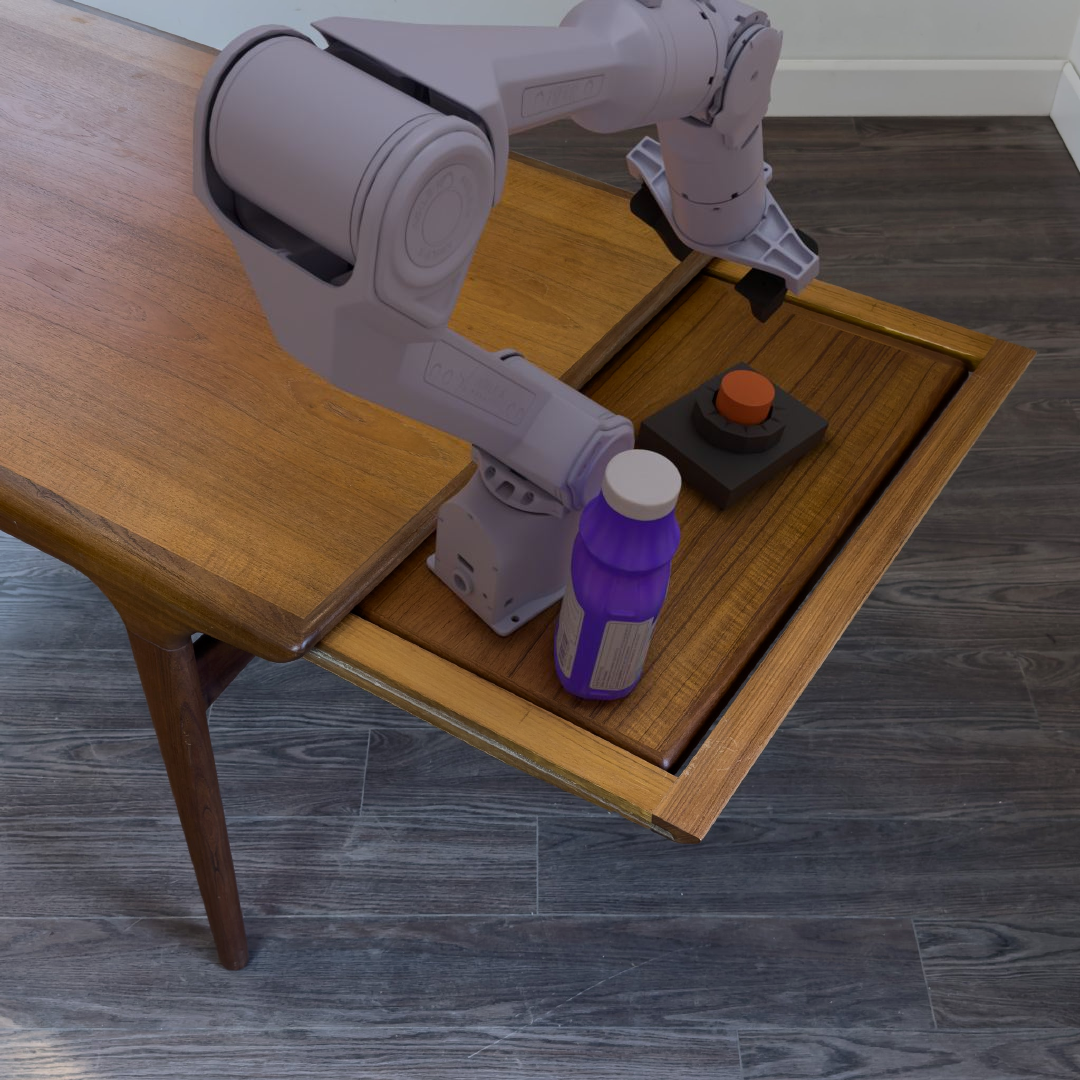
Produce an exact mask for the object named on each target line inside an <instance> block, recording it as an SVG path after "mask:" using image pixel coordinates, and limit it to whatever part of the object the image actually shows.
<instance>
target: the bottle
mask: <svg viewBox="0 0 1080 1080" xmlns="http://www.w3.org/2000/svg"><path fill="white" fill-rule="evenodd" d="M681 487H682V477H680V474H679V472H678V470H677V468H676V467H675V466H674V464H673V463H672V462H671V461H669V460H668V459H667V458H665V457H664V456H662V455H660V454H658V453H655V452H652V451H648V450H646V449H633V450H628V451H624V452H621V453H619V454H617V455H616V456H614V457H613V458H612V459H611V460H610V462H609V463H608V465H607V467H606V470H605V475H604V478H603V481H602V487H601V491H600V493H599V495H598V496H596V497H595V498H593V499H592V500H590V501H589V503H588V504H587V505H586V507H585V508H584V510H583V512H582V514H581V517H580V521H579V531H578V533H577V535H576V538H575V541H574V544H573V550H572V557H571V566H570V571H569V575H568V580H567V584H566V589H565V593H564V597H563V598H562V603H561V607H560V611H559V614H558V617H557V621H556V624H555V630H554V637H553V659H554V667H555V671H556V675H557V677H558V680H559V682H560V684H561V686H562V687H563V689H564V690H565V691H566V692H568V693H569V694H572V695H574V696H576V697H579V698H582V699H586V700H598V701H613V700H619V699H621V698H624V697H627V696H628V695H629V694H630V693H631V692H633V690H634V688H635V687H636V686H637V684H638V682H639V680H640V679H641V676H642V673H643V666H644V663H645V661H646V657H647V654H648V651H649V648H650V644H651V642H652V638H653V634H654V632H655V629H656V625H657V622H658V619H659V616H660V613H661V610H662V608H663V606H664V603H665V601H666V600H667V596H668V591H669V585H670V579H671V571H672V559H673V558H674V557H675V554H676V553H677V551H678V550H679V549H678V548H679V547H680V541H681V535H682V534H681V530H680V529H681V528H680V524H679V522H678V521H677V519H676V505H677V502H678V498H679V495H680V492H681Z"/></svg>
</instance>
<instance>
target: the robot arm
mask: <svg viewBox="0 0 1080 1080" xmlns="http://www.w3.org/2000/svg"><path fill="white" fill-rule="evenodd" d="M309 25H310V26H311V27H312V28H313V29H315V30H316V31H317V32H318V33H319V34H320V36H322V37H323V39H324V40H325V42H326V43H327V45H328V46H327V47H326V48H324V49H322V48H320V47H318V45H317V44H316V42H314V41H313V40H312V39H311V37H309V36H308V35H306V34H304V33H302V32H301V31H299V30H297V29H295V28H293V27H290V26H287V25H285V24H284V25H283V24H275V23H271V24H262V25H258V26H256V27H251V28H250V29H248V30H246V31H244V32H242V33H240V34H239V35H238V36H236V37H235V38H234V39H232V40H231V41H230V42H229V43H228V44H227V45H226V46H225V47H224V48H223V49H221V51H220V52H219V54H218V55H217V57H216V58H215V59H214V60H213V61H212V63H211V65H210V67H209V68H208V69H207V71H206V73H205V76H204V78H203V80H202V82H201V85H200V87H199V90H198V94H197V97H196V100H195V106H194V111H193V119H192V120H193V121H192V192H193V194H194V196H195V197H196V198H197V200H198V201H199V202H200V204H201V205H202V206H203V207H204V209H205V210H206V211H207V213H208V214H209V215H210V216H211V217H212V219H213V220H214V221H215V223H216V224H217V225H218V226H219V228H220V229H221V231H223V232H224V235H226V237H227V238H228V239H229V241H230V242H231V244H232V245H233V247H234V249H235V251H236V253H237V256H238V258H239V260H240V263H241V264H242V267H243V269H244V272H245V273H246V276H247V278H248V281H249V283H250V285H251V287H252V289H253V292H254V294H255V295H256V298H257V301H258V303H259V306H260V307H261V310H262V312H263V313H264V316H265V318H266V321H267V323H268V325H269V328H270V330H271V333H272V334H273V336H274V339H275V341H276V343H277V345H278V347H279V348H280V349H281V350H282V351H284V353H285V354H287V355H288V356H289V357H291V359H293V360H294V361H296V362H298V363H299V364H300V365H302V366H304V367H305V368H307V369H308V370H310V371H311V372H313V373H314V374H315V375H317V376H319V378H321V379H323V380H324V381H326V382H327V383H328V384H329V385H331V386H333V387H334V388H336V389H338V390H339V391H343V392H344V393H347V394H349V395H353V396H354V397H357V398H359V399H362V400H363V401H367V402H370V403H372V404H375V405H377V406H379V407H382V408H385V409H387V410H389V411H392V412H394V413H397V414H399V415H402V416H404V417H407V418H409V419H410V420H411V419H412V420H414V421H416V422H418V423H421V424H424V425H426V426H428V427H431V428H433V429H436V430H438V431H441V432H443V433H446V434H448V435H451V436H453V437H456V438H458V439H461V440H463V441H465V442H468V443H470V444H471V451H470V460H471V461H473V462H474V463H475V464H476V466H477V468H476V470H475V472H474V473H473V475H472V477H470V479H469V480H468V482H467V483H466V485H465V486H463V487H462V488H461V490H460V491H458V492H457V493H456V494H455V495H453V496H452V497H450V498H449V499H448V500H447V501H445V502H444V503H443V504H442V505H441V506H440V507H439V509H438V513H437V519H436V521H437V522H436V536H435V537H436V538H435V552H434V553H432V554H431V555H429V556H428V557H427V559H426V567H427V568H428V569H429V570H430V571H431V572H432V573H433V574H434V575H435V576H437V577H438V579H440V580H441V582H443V583H444V584H445V585H446V586H447V587H448V588H449V589H450V590H451V591H452V592H453V593H454V594H455V595H456V596H458V598H459V599H460V600H462V601H463V602H464V603H465V604H466V606H468V607H469V608H470V609H471V610H472V611H473V612H474V613H475V614H476V615H477V616H478V617H479V618H480V619H481V620H483V621H484V622H485V623H486V625H487V626H489V628H491V629H492V630H493V631H494V632H495V633H496V634H497V635H498V636H501V637H508V636H509V635H511V634H512V633H513V632H515V631H516V630H517V629H520V628H521V627H522V626H524V625H525V624H526V623H528V622H530V621H531V620H533V619H534V618H535V617H537V616H538V615H540V614H541V613H543V612H544V611H545V610H547V609H549V608H550V607H552V606H553V605H554V604H556V603H557V602H558V601H560V600H561V599H562V600H563V598H564V593H565V589H566V584H567V580H568V575H569V571H570V566H571V557H572V550H573V544H574V541H575V538H576V535H577V533H578V531H579V521H580V517H581V514H582V512H583V510H584V508H585V507H586V505H587V504H588V503H589V501H590V500H592V499H593V498H595V497H596V496H598V495H599V493H600V491H601V487H602V481H603V478H604V475H605V470H606V467H607V465H608V463H609V462H610V460H611V459H612V458H613V457H614V456H616V455H617V454H619V453H621V452H624V451H628V450H635V449H634V448H635V442H636V441H635V440H636V439H635V428H634V424H633V422H632V421H631V420H630V419H629V418H627V417H626V416H623V415H621V414H615V413H614V412H613V411H611V410H609V409H607V408H606V407H604V406H602V405H601V404H599V403H598V402H596V401H595V400H593V399H591V398H589V397H588V396H586V395H584V394H583V393H582V392H580V391H578V390H577V389H575V388H573V387H571V386H570V385H568V384H567V383H565V382H563V381H561V380H560V379H558V378H557V377H556V376H554V375H552V374H550V373H549V372H547V371H545V370H543V369H542V368H541V367H539V366H537V365H536V364H534V363H532V362H531V361H529V360H527V359H526V357H525V355H524V354H523V353H521V352H520V351H517V349H514V348H503V349H500V350H498V351H493V352H492V351H488V350H486V349H485V348H483V347H481V346H479V345H477V344H476V343H474V342H473V341H471V340H469V339H468V338H466V337H464V336H463V335H461V334H460V333H457V332H456V331H455V330H453V329H451V328H450V327H448V324H449V322H450V319H451V316H452V314H453V312H454V310H455V308H456V304H457V302H458V300H459V297H460V294H461V291H462V288H463V286H464V282H465V280H466V277H467V275H468V272H469V268H470V267H471V263H472V261H473V257H474V255H475V252H476V249H477V247H478V244H479V242H480V239H481V236H482V235H483V232H484V230H485V227H486V225H487V222H488V220H489V217H490V214H491V210H492V208H495V207H496V206H497V205H498V204H499V203H500V201H501V199H502V195H503V192H504V187H505V184H506V183H505V182H506V178H507V172H508V164H509V153H510V152H509V151H510V137H509V136H512V135H515V134H518V133H522V132H524V131H527V130H531V129H533V128H536V127H537V128H538V127H540V126H544V125H546V124H550V123H553V122H555V121H559V120H562V119H565V118H568V117H569V118H570V119H571V120H572V121H573V122H574V123H575V124H577V125H578V126H579V127H581V128H584V129H585V130H587V131H590V132H592V133H597V134H613V133H618V132H622V131H627V130H632V129H637V128H641V127H647V126H651V125H656V129H657V135H658V141H659V142H658V141H656V140H655V139H653V138H652V137H650V136H648V135H646V136H644V137H643V139H641V140H640V141H639V142H638V143H637V145H635V146H634V147H633V148H632V149H631V150H630V151H629V152H628V153H627V154H626V155H625V159H626V160H625V161H626V163H627V168H628V173H629V175H631V176H632V177H633V178H634V179H636V180H637V181H642V183H641V184H640V188H639V189H638V191H637V192H636V193H634V194H633V195H632V197H631V198H630V200H629V210H630V213H631V214H633V215H634V216H635V217H637V218H638V219H639V220H640V221H642V222H643V223H645V224H646V225H647V226H649V227H650V228H652V229H653V230H654V232H656V234H657V235H658V237H659V238H660V239H661V241H662V242H663V243H664V246H665V247H666V248H667V249H668V251H669V252H670V254H671V255H672V256H673V257H674V258H675V259H676V260H677V261H679V262H680V263H683V262H684V261H685V260H686V259H688V257H689V256H690V255H691V254H692V253H693V252H694V251H696V252H699V253H702V254H705V255H708V256H712V257H715V258H719V259H722V260H724V261H725V260H726V261H728V262H729V261H730V262H732V263H736V264H739V265H742V266H746V267H749V268H750V270H748V271H747V273H746V274H745V275H744V276H743V277H741V279H740V280H739V281H738V282H737V283H735V285H734V286H733V289H734V291H735V292H737V293H738V294H740V295H741V296H742V297H743V298H745V299H746V300H748V302H749V306H750V311H751V314H752V316H753V317H754V318H755V319H756V320H758V321H759V322H760V323H761V324H765V323H766V322H767V321H768V320H769V319H770V318H771V317H772V316H773V315H774V314H775V313H776V312H777V311H778V310H779V309H780V308H781V307H782V306H783V304H784V301H785V298H786V296H787V293H788V292H789V291H790V292H791V293H792V294H793V295H795V296H799V295H800V294H801V293H802V292H803V291H804V290H805V289H806V288H807V287H808V286H809V285H810V284H811V283H812V282H813V280H815V278H817V276H819V274H820V256H819V251H820V250H819V244H818V243H817V241H816V240H815V239H814V238H812V237H811V236H810V235H808V234H807V233H805V232H804V231H803V230H801V229H800V228H799V227H797V228H793V226H792V224H791V223H790V221H789V219H788V218H787V216H786V215H785V213H784V212H783V210H782V209H781V206H779V204H778V202H777V201H776V199H775V198H774V196H773V195H772V193H771V192H770V190H769V189H768V188H767V185H768V183H769V182H770V181H771V180H772V178H773V168H772V166H771V165H770V164H769V163H767V162H765V161H764V160H765V159H764V141H763V125H762V124H763V123H762V120H763V119H764V117H765V116H766V114H767V113H768V110H769V104H770V103H771V100H772V98H771V88H772V83H773V82H772V81H773V77H774V76H775V75H774V74H775V72H776V69H777V66H778V62H779V61H780V60H779V59H780V56H781V51H782V47H783V39H784V30H782V29H781V30H779V32H778V29H777V28H773V27H771V19H769V15H768V14H767V12H765V11H764V10H761V9H759V8H757V7H754V6H751V5H749V4H747V3H744V2H742V1H740V0H582V1H580V2H579V3H577V4H575V5H574V6H573V7H572V8H571V9H570V10H569V11H568V12H567V13H566V15H564V17H563V18H562V20H561V21H560V23H559V25H558V26H551V25H549V26H546V25H495V24H493V25H491V24H489V25H488V24H487V25H486V24H431V23H429V24H427V23H414V22H412V23H411V22H401V21H391V20H381V19H372V18H371V19H369V18H360V17H349V16H331V17H325V18H323V19H319V20H316V21H312V22H310V23H309ZM513 620H516V621H513Z"/></svg>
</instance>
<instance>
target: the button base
mask: <svg viewBox="0 0 1080 1080" xmlns="http://www.w3.org/2000/svg"><path fill="white" fill-rule="evenodd" d="M737 370H747V371H752V372H755V373H758V374H760V375H762V376H764V375H763V374H762V373H761V372H759V371H758V370H756V369H754V368H753V367H752V366H750V365H749V364H747V363H745V361H743V360H741V361H739V362H737V363H735V364H734V365H733V366H731V367H729V368H728V369H725V371H723V372H721V373H719V374H716V375H714V376H713V377H711V378H709V379H708V380H706V381H704V382H702V383H701V384H700V385H699V386H697V387H696V388H694V389H693V390H691V391H689V392H688V393H686V394H685V395H683V396H681V397H680V398H679V397H678V399H676V400H674V401H672V402H671V403H669V404H668V405H666V406H664V407H663V408H661V409H659V410H658V411H657V412H654V413H653V414H651V415H649V416H648V417H646V418H644V419H643V420H641V422H640V425H639V428H638V434H637V436H636V441H635V442H636V443H637V444H638V445H640V446H641V447H642V448H643V449H644V450H648V451H652V452H655V453H658V454H660V455H662V456H664V457H665V458H667V459H668V460H669V461H671V462H672V463H673V464H674V466H675V467H676V468H677V470H678V472H679V474H680V477H681V479H683V480H684V482H687V483H688V484H689V485H691V486H692V488H694V489H695V490H696V491H698V492H699V493H701V494H702V495H703V496H704V497H706V498H707V499H708V500H709V501H711V502H712V503H713V504H715V506H717V507H718V508H720V509H721V510H722V511H726V510H728V509H730V508H731V507H732V506H734V505H735V504H737V503H738V502H739V501H741V500H742V499H743V498H745V497H746V496H747V495H749V494H751V493H752V492H754V491H755V490H756V489H757V488H759V487H760V486H762V485H763V484H765V483H766V482H767V481H769V480H770V479H772V478H773V477H775V476H776V475H778V474H779V473H780V472H782V471H783V470H784V469H786V468H788V467H789V466H791V465H792V464H793V463H795V462H796V461H798V460H799V459H800V458H802V457H803V456H805V455H807V453H809V452H810V451H812V450H813V449H815V448H816V447H818V446H819V445H820V444H822V442H823V440H824V438H825V436H826V433H827V430H828V428H829V426H830V421H828V420H827V419H826V418H824V417H822V416H821V415H820V414H818V413H817V412H815V411H814V410H813V409H811V408H810V407H808V406H807V405H805V403H803V402H802V401H800V400H798V398H796V397H794V396H793V395H791V394H790V393H788V392H787V391H786V390H784V389H783V388H782V387H780V386H778V385H777V384H776V383H774V382H773V381H772V380H770V379H769V378H767V377H766V376H764V377H765V378H766V379H768V380H769V381H770V383H771V384H772V385H773V387H774V390H775V396H774V398H773V401H772V404H771V407H770V410H769V412H768V415H767V418H766V419H765V420H764V421H763V422H762V423H760V424H758V425H750V426H744V425H740V424H737V423H733V422H730V421H728V420H727V419H726V418H724V417H723V416H722V415H720V414H719V412H718V411H717V408H716V398H717V395H718V392H719V389H720V385H721V382H722V379H723V378H724V377H725V376H726V375H727V374H728V373H730V372H733V371H737Z"/></svg>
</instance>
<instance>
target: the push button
mask: <svg viewBox="0 0 1080 1080" xmlns="http://www.w3.org/2000/svg"><path fill="white" fill-rule="evenodd" d="M760 374H761V373H760ZM760 374H758V373H755V372H752V371H747V370H737V371H733V372H730V373H728V374H727V375H726V376H725V377H724V378H723V379H722V382H721V385H720V389H719V392H718V395H717V398H716V408H717V411H718V412H719V414H720V415H722V416H723V417H724V418H726V419H727V420H728V421H730V422H733V423H737V424H740V425H744V426H750V425H758V424H760V423H762V422H763V421H764V420H765V419H766V418H767V415H768V412H769V410H770V407H771V404H772V401H773V398H774V396H775V390H774V387H773V385H772V384H771V383H770V381H771V380H770V379H769V378H767V377H766V376H764V375H763V374H761V375H760ZM762 375H763V376H762ZM765 377H766V378H767V379H766V378H765ZM768 379H769V380H770V381H769V380H768Z"/></svg>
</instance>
